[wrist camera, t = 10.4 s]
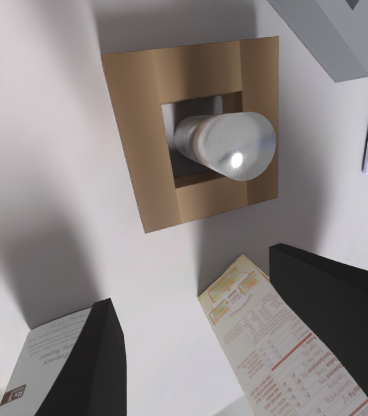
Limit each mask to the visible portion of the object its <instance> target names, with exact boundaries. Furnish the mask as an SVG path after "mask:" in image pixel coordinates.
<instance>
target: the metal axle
mask: <svg viewBox="0 0 368 416" xmlns="http://www.w3.org/2000/svg"><path fill="white" fill-rule="evenodd" d="M174 142H175V145H176V148H177V150H178V151H179V152H180V153H181V154H182V155H183V156H185V157H187V158H189V159H192V160H194V161H196V162H198V163H200V164H202V165H204V166H206V167H208V168H210V169H213V170H215V171H217V172H219V173H221V174H223V175H225V176H227V177H229V178H232V179H234V180H238V181H246V180H250V179H253V178H255V177H257V176H258V175H260V174H261V173H262V172H263V171H264V170H265V169H266V168H267V167H268V165H269V164H270V162H271V160H272V158H273V155H274V152H275V147H276V137H275V132H274V129H273V127H272V125H271V123H270V122H269V121H268V119H267V118H265V117H264V116H263V115H261V114H258V113H255V112H242V113H228V114H214V115H200V116H190V117H187V118H185V119H183V120H182V121H181V122H180V123H179V124H178V126H177V127H176V130H175V134H174Z"/></svg>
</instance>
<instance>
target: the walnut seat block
mask: <svg viewBox="0 0 368 416" xmlns="http://www.w3.org/2000/svg"><path fill="white" fill-rule="evenodd" d="M278 57H279V36H275V37H265V38H256V39H246V40H237V41H227V42H218V43H208V44H199V45H189V46H180V47H170V48H161V49H151V50H142V51H132V52H123V53H113V54H104V55H101V60H102V66H103V70H104V74H105V78H106V82H107V86H108V90H109V94H110V98H111V102H112V106H113V110H114V114H115V118H116V122H117V126H118V130H119V134H120V138H121V142H122V146H123V150H124V154H125V158H126V162H127V166H128V170H129V174H130V178H131V182H132V186H133V190H134V194H135V198H136V202H137V206H138V210H139V214H140V218H141V221H142V224H143V228H144V231H145V234H146V233H150V232H153V231H157V230H161V229H164V228H168V227H172V226H175V225H179V224H183V223H186V222H190V221H194V220H197V219H201V218H205V217H208V216H212V215H216V214H219V213H223V212H227V211H231V210H234V209H238V208H242V207H245V206H249V205H253V204H256V203H260V202H264V201H267V200H271V199H275V198H278ZM221 95H222V99H223V112H224V114H228V113H242V112H255V113H258V114H261V115H263V116H264V117H265V118H267V119H268V121H269V122H270V123H271V125H272V127H273V129H274V132H275V137H276V147H275V152H274V155H273V158H272V160H271V162H270V164H269V165H268V167H267V168H266V169H265V170H264V171H263V172H262V173H261V174H260V175H258V176H257V177H255V178H253V179H250V180H246V181H238V180H234V179H232V178H229V177H227V176H225V175H223V174H221V173H219V172H217V171H215V170H213V169H210V170H205V171H201V172H197V173H192V174H188V175H183V176H179V177H175V178H173V172H172V166H171V161H170V155H169V149H168V144H167V138H166V132H165V127H164V121H163V115H162V110H161V105H164V104H170V103H177V102H183V101H190V100H196V99H202V98H209V97H215V96H221Z"/></svg>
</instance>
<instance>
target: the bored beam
mask: <svg viewBox="0 0 368 416" xmlns="http://www.w3.org/2000/svg"><path fill="white" fill-rule="evenodd" d="M268 1H269V3H270V4H271V5H272V6H273V8H274V9H275V10H276V11H277V12H278V14H279V15H280V16H281V17H282V18H283V20H284V21H285V22H286V23H287V25H288V26H289V27H290V28H291V29H292V31H293V32H294V33H295V34H296V36H297V37H298V38H299V39H300V40H301V42H302V43H303V44H304V45H305V46H306V48H307V49H308V50H309V51H310V53H311V54H312V55H313V56H314V57H315V59H316V60H317V61H318V62H319V63H320V65H321V66H322V67H323V68H324V70H325V71H326V72H327V73H328V74H329V76H330V77H331V78H332V79H333V81H334V82H335V83H337V82H342V81H348V80H353V79H359V78H364V77H368V0H268Z"/></svg>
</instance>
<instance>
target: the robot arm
mask: <svg viewBox="0 0 368 416" xmlns="http://www.w3.org/2000/svg"><path fill="white" fill-rule="evenodd" d="M363 173H364V174H365V175H368V143H367V150H366V156H365V163H364V169H363ZM269 267H270V283H271V285H272V286H273V287H274V289H275V290H276V292H277V293H278V294H279V296H280V297H281V298H282V300H283V301H284V302H285V303H286V304H287V305H288V306H289V307H290V308H291V309H292V311H293V312H294V313H295V314H296V315H297V316H298V317H299V318H300V319H301V320H302V321H303V322H304V323H305V324H306V325H307V326H308V327H309V328H310V329H311V330H312V332H313V333H314V334H315V335H316V336H317V337H318V338H319V339H320V340H321V341H322V342H323V343H324V344H325V345H326V346H327V347H328V349H329V350H330V351H331V352H332V353H333V354H334V355H335V357H336V358H337V359H338V360H339V362H340V363H341V364H342V365H343V367H344V368H345V369H346V370H347V371H348V373H349V374H350V375H351V376H352V378H353V379H354V380H355V382H356V383H357V384H358V385H359V387H360V388H361V389H362V391H363V392H364V393H365V395H366V396H367V397H368V271H367V270H364V269H360V268H357V267H353V266H350V265H347V264H343V263H340V262H337V261H334V260H331V259H328V258H325V257H322V256H319V255H316V254H313V253H310V252H307V251H304V250H301V249H298V248H295V247H292V246H289V245H286V244H282V243H280V244H277V245H274V246H270V247H269ZM34 416H127V364H126V351H125V342H124V334H123V331H122V328H121V326H120V323H119V320H118V317H117V315H116V312H115V309H114V306H113V304H112V301H111V298H108V299H105V300H102V301H98V302H95V303H94V304H93V306H92V308H91V310H90V313H89V315H88V317H87V319H86V322H85V324H84V326H83V328H82V330H81V332H80V334H79V336H78V338H77V340H76V342H75V344H74V346H73V348H72V350H71V352H70V354H69V356H68V358H67V360H66V362H65V364H64V365H63V367H62V369H61V371H60V373H59V374H58V376H57V378H56V380H55V382H54V383H53V385H52V387H51V389H50V390H49V392H48V394H47V395H46V397H45V399H44V400H43V402H42V404H41V405H40V407H39V409H38V410H37V412H36V413H35V415H34Z"/></svg>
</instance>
